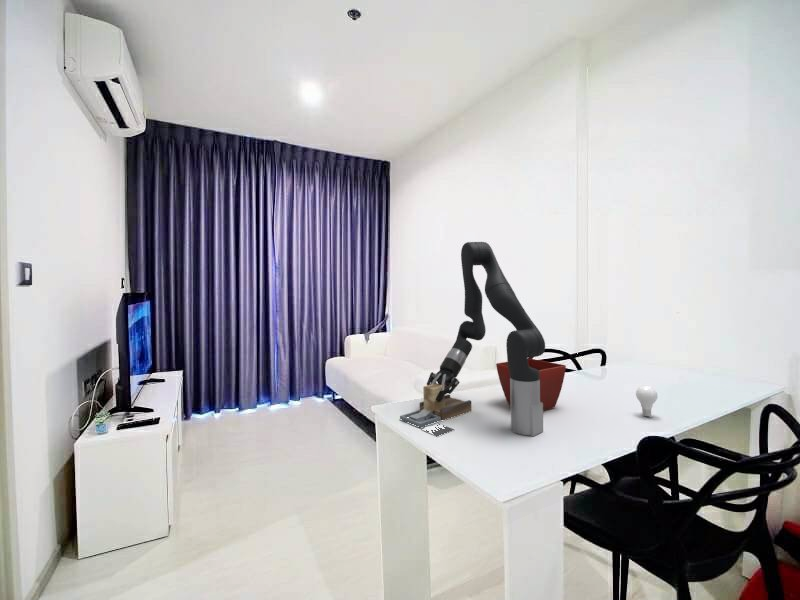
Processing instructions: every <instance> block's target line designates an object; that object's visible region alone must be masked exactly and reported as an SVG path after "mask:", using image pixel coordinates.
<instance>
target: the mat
mask: <svg viewBox="0 0 800 600" xmlns="http://www.w3.org/2000/svg"><path fill="white" fill-rule="evenodd" d="M437 423H438V424H439V425H440V424H441V423H440V422H437ZM442 425H443V427H444V426H446V427H444V428H445V429H442V428H439V427H438V428H439V429H440V430H439V429H437V428H436V427H435V428H436V429H437V430H438V431H436V430H434V431H435V432H433V430H431V431H432V433H433V434H434V435H436V436H435V437H437V436H438V437H440V436H439V435H441V434H443V435H445V434H444V433H446V434H448V433H450V432H449V431H451V432H453V431H452V430H454V431H455V428H452V427H449V426H447V425H444V424H442ZM437 426H438V425H437ZM426 431H427V430H426ZM427 432H429V431H427ZM427 432H426V433H427ZM447 432H448V433H447ZM434 435H433V436H434ZM441 436H442V435H441Z"/></svg>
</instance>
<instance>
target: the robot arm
mask: <svg viewBox="0 0 800 600" xmlns="http://www.w3.org/2000/svg"><path fill="white" fill-rule="evenodd" d="M460 259H461V269H462V270H461V271H462V279H463V287H464V315H465V316H466V317H468V318H470V319H471V321H470V320H465V321H462V322H461V324H459V328H458V332H457V336H456V339H455V342H454V343H453V345H452V346H451V348H450V349H449V351H448V353H447V354H446V355H445V357H444V359H443V361H442V362H441V364H440V365H439V370H438V372H437V373H434V372H430V374H429V376H428V380H427V382H426V386H428V385H432V384H438V385H442V388H441V391H440V392H439V394H438V395H437V397H436V400H437V402H440V401H441V400H442V399H443V397H444V395H448V394H449V395H451V394H452V393H453V391H454V390H456V388H457V387H458V386H459V385H460V383H461V382H460V381H459V379H458V378H457V377H458V376H459V374H460V373H461V370H462V368H463V367H464V365H465V363H466V361H467V358H468V356H469V355H470V352H471V351H472V349H473V344H472V343H471V342H470V341H469V340H468V339H470V340H473V341H474V340H475V341H481V340H483V338H485V336H486V331H487V330H486V329H487V328H486V324H485V321H484V320H485V319H484V316H483V294H482V291H481V288H480V287H479V285H478V283H477V281H476V278H475V276H474V266H482V267H483V269H484V271H485V273H486V279H485V285H484V293H485V296H486V298H487V300H488V302H489V303H490V306H491V307H492V308H493V310H494V311H495V312H496V313H498V314H499V316H500V315H501V316H502V317H503V318H504V319H506V320H507V321H508V322H509V323H510V324H512V326H514V328H515V330H512V331H510V332H509V333H508V335H507V338H506V343H505V344H506V356H507V357H506V358H507V361H506V362H508V369H509V372H510V398H511V406H510V430H511V431H512V432H514V433H515V434H519V435H523V436H531V437H535V436H537V435H539V434H541V433H543V432H544V410H543V403H542V402H540V373H539V371H538V370H537V369H535V368H531V367H529V365H528V359H531V358H536V357H539V356H542V355H543V354H544V353H545V351H546V341H545V339H544V336H543V335H542V333H541V331H540V330H539V328H538V327H537V326H536V324H535V323H534V321H533V320H532V319H531V318H530V316H529V315H528V313H527V312H526V310H525V308H524V307H523V305H522V304H521V302H520V301H519V299H518V297H517V295H516V293H515V292H514V290H513V288H512V286H511V284H510V283H509V282H508V279H507V277H506V276H505V274H504V272H503V270H502V268H501V266H500V265H499V262H498V260H497V257H496V255H495V253H494V250H493V248H492V246H490V244H489V243H488V242H486V241H468V242H465V243H464V244H462V247H461V250H460Z"/></svg>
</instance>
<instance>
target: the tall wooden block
mask: <svg viewBox="0 0 800 600" xmlns="http://www.w3.org/2000/svg"><path fill="white" fill-rule="evenodd" d="M422 388H423V392H422V393H423V402H424V408H427V409H429V410H432V411H435V410H438V409H441V408H444V407H445V398H444V397H443V399H442V400H441V401H440V402H437V400H436V397H437V395H438V394H439V392H440V391H441V388H442V385H438V383H437V384H432V385H428V386H427V385H425V386H424V385H423V387H422Z"/></svg>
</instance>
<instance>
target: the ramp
mask: <svg viewBox="0 0 800 600" xmlns="http://www.w3.org/2000/svg"><path fill="white" fill-rule="evenodd" d="M444 398H445V407H444V408H441V409H438V410H435V411H433V414H434V415H437V416H440V417H441V420H445V419H447V418H450V419H452V418H451V417H453V418H455V417H454V416H456V417H458V416H457V415H459V416H461V415H460V414H462V415H464V414H467V413H470V412H472V400H470V399H469V400H465V401H464V400H461V399H457V398H454V397H451V394H449V393H447V394H445V395H444ZM423 409H424V401H421V402H419V410H423ZM469 411H470V412H469ZM466 412H467V413H466ZM463 413H464V414H463ZM447 420H448V419H447ZM445 421H446V420H445Z"/></svg>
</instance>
